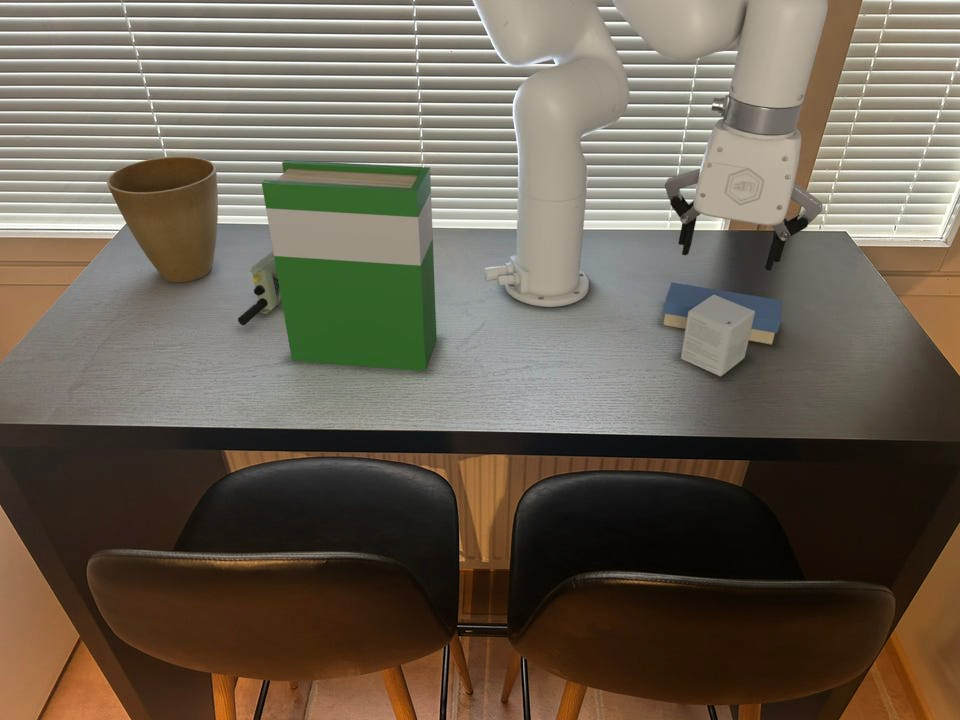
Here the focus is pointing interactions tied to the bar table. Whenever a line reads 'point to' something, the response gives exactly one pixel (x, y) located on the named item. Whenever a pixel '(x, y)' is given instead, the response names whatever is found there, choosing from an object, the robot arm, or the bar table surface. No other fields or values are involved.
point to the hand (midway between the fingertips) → (726, 257)
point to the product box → (717, 334)
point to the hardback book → (355, 262)
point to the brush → (765, 308)
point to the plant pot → (171, 212)
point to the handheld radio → (263, 288)
